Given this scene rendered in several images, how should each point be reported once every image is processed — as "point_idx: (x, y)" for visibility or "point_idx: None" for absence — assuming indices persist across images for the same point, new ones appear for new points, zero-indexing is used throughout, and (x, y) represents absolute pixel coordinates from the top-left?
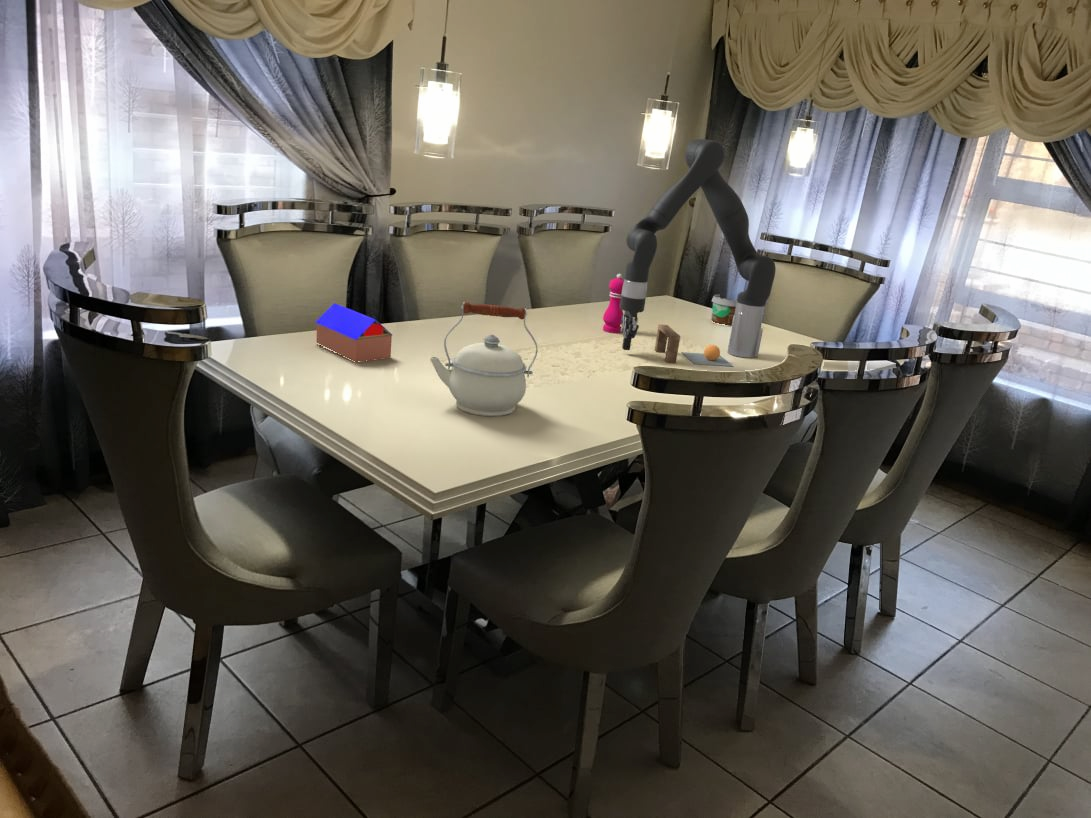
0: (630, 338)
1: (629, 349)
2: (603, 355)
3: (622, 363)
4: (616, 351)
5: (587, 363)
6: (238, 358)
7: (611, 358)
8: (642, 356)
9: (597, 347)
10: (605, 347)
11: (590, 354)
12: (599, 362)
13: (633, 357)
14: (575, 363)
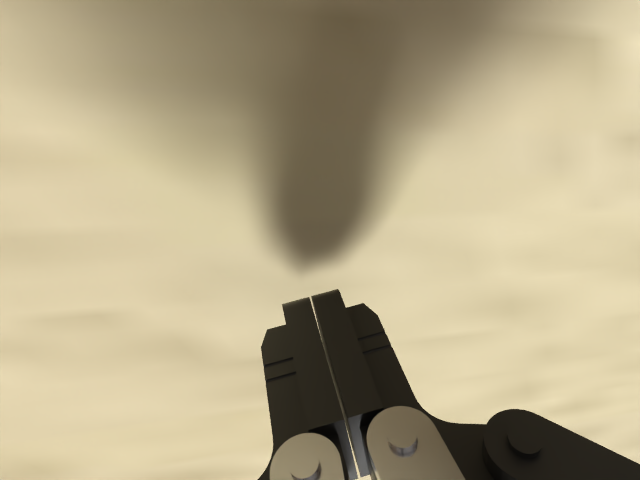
0: (447, 429)
1: (338, 292)
2: (420, 405)
3: (621, 276)
4: (237, 356)
5: (615, 429)
6: None
7: (490, 355)
8: (319, 93)
9: (190, 472)
10: (142, 438)
11: None
12: (596, 392)
13: (408, 201)
14: None
